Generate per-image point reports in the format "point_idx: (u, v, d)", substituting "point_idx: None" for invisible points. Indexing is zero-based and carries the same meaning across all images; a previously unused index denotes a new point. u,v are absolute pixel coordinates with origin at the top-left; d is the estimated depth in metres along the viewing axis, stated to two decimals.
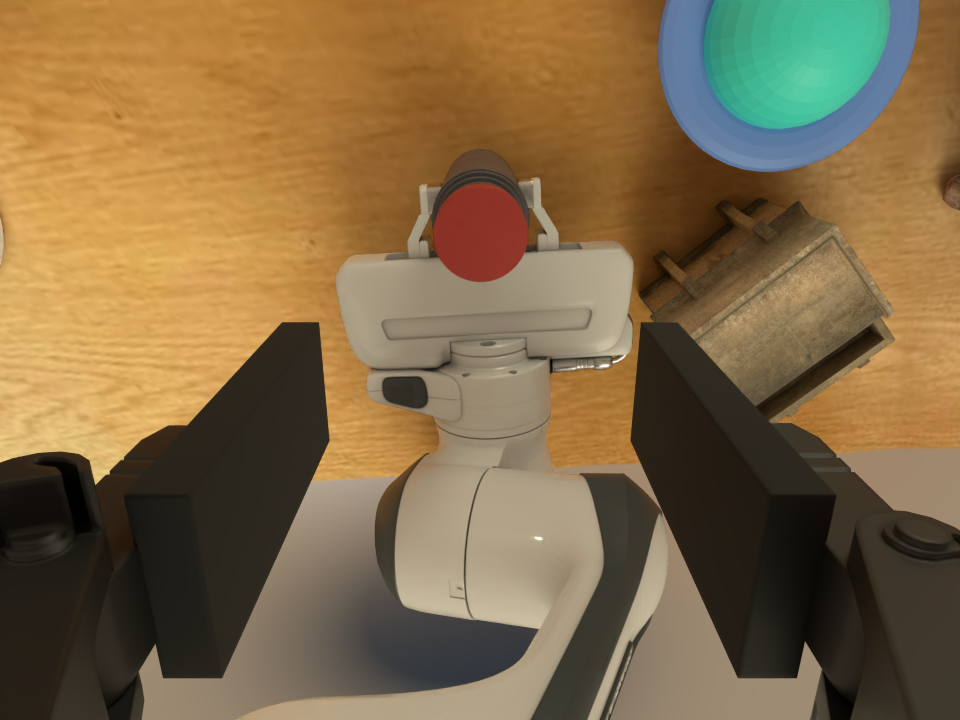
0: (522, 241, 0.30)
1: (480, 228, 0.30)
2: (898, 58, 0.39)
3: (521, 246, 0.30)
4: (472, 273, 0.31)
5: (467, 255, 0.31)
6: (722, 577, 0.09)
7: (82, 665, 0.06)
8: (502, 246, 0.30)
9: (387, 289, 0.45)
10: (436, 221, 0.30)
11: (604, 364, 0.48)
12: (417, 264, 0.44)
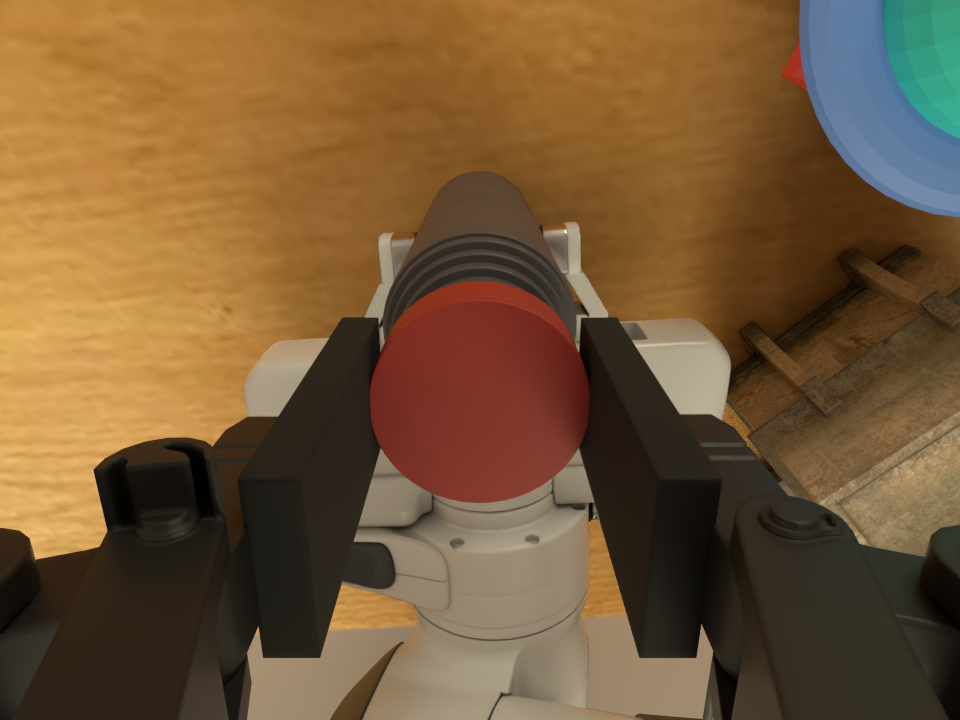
0: (577, 419, 0.13)
1: (479, 391, 0.13)
2: None
3: (574, 430, 0.13)
4: (461, 485, 0.14)
5: (448, 448, 0.13)
6: (630, 561, 0.09)
7: (205, 647, 0.06)
8: (530, 430, 0.13)
9: None
10: (375, 377, 0.13)
11: None
12: None
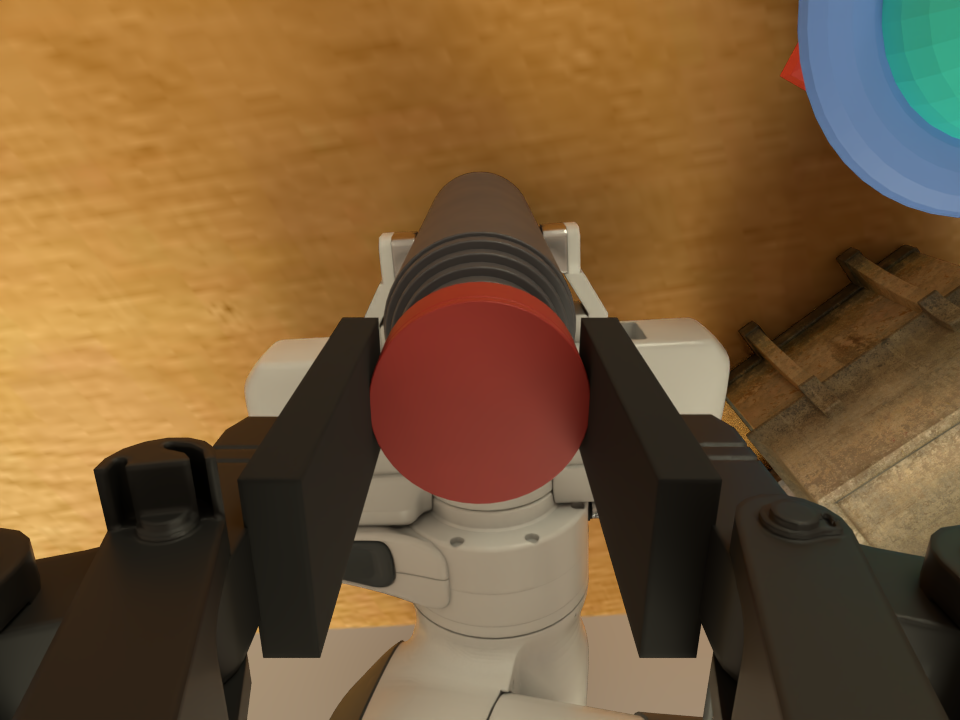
0: (453, 316, 0.12)
1: (464, 414, 0.13)
2: None
3: (465, 314, 0.12)
4: (571, 393, 0.13)
5: (533, 419, 0.13)
6: (630, 561, 0.09)
7: (205, 646, 0.06)
8: (483, 355, 0.13)
9: None
10: (487, 501, 0.14)
11: None
12: None
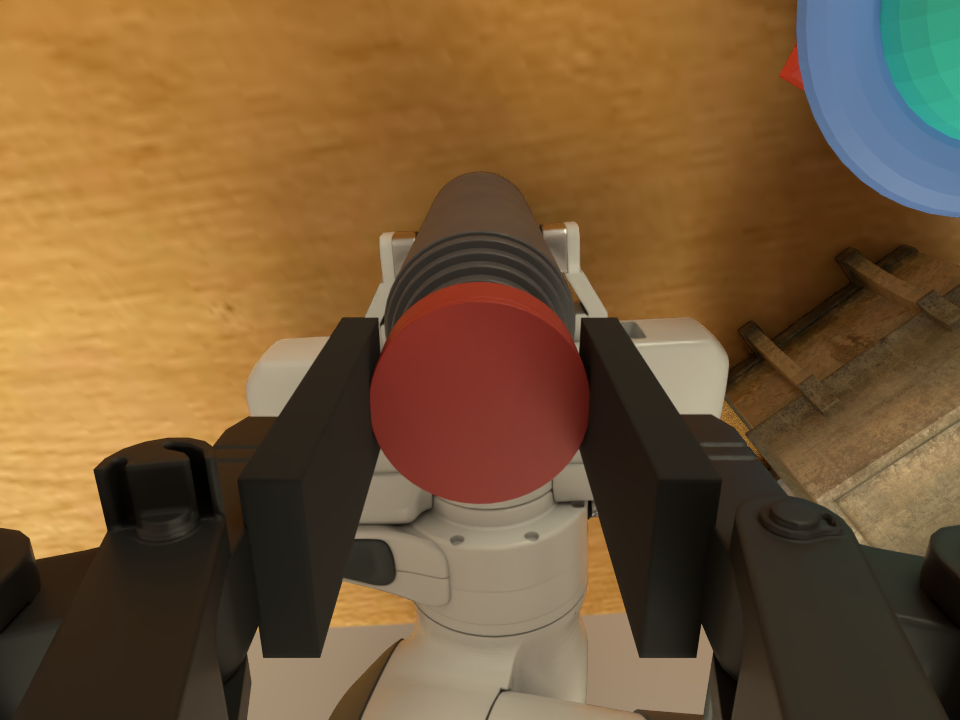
0: (403, 461, 0.13)
1: (492, 419, 0.13)
2: None
3: (396, 453, 0.13)
4: (428, 335, 0.12)
5: (469, 357, 0.13)
6: (630, 562, 0.09)
7: (205, 647, 0.06)
8: (426, 425, 0.13)
9: None
10: (578, 363, 0.13)
11: None
12: None
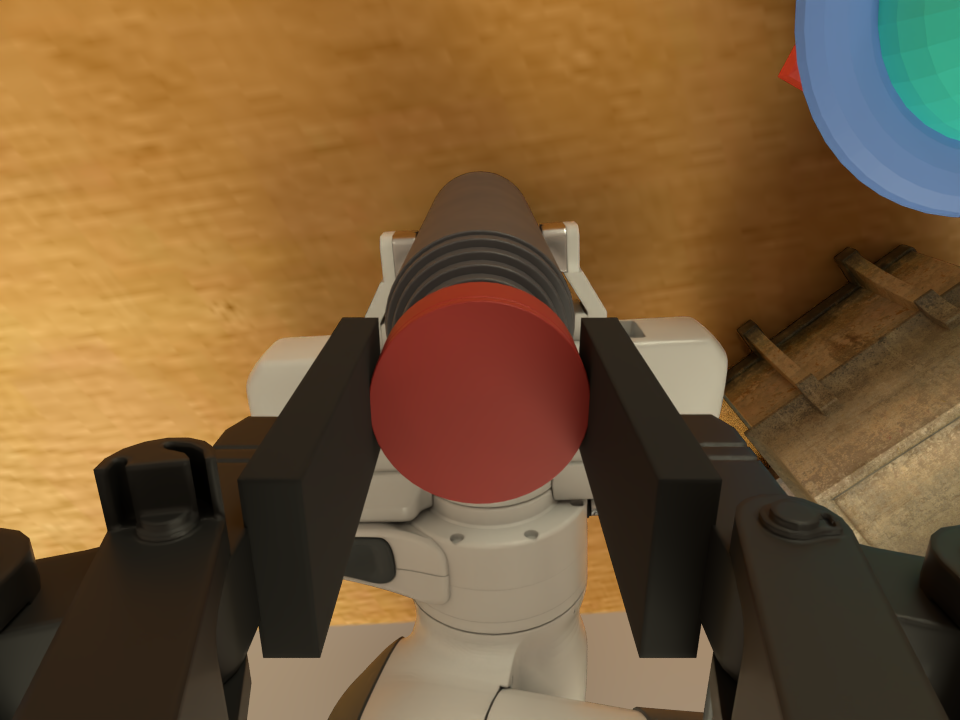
0: (563, 453, 0.13)
1: (486, 393, 0.13)
2: None
3: (556, 462, 0.13)
4: (429, 474, 0.13)
5: (433, 435, 0.13)
6: (630, 561, 0.09)
7: (205, 647, 0.06)
8: (516, 447, 0.13)
9: None
10: (394, 342, 0.12)
11: None
12: None
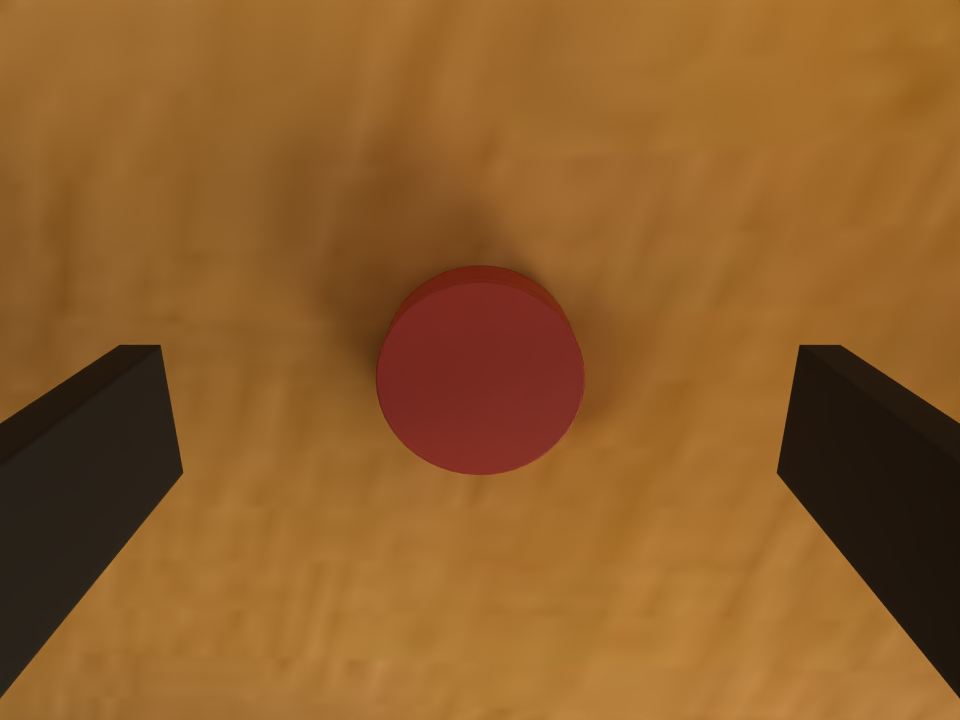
0: (558, 426, 0.14)
1: (486, 370, 0.14)
2: None
3: (552, 435, 0.14)
4: (432, 446, 0.14)
5: (437, 409, 0.14)
6: None
7: None
8: (515, 420, 0.14)
9: None
10: (400, 321, 0.13)
11: None
12: None
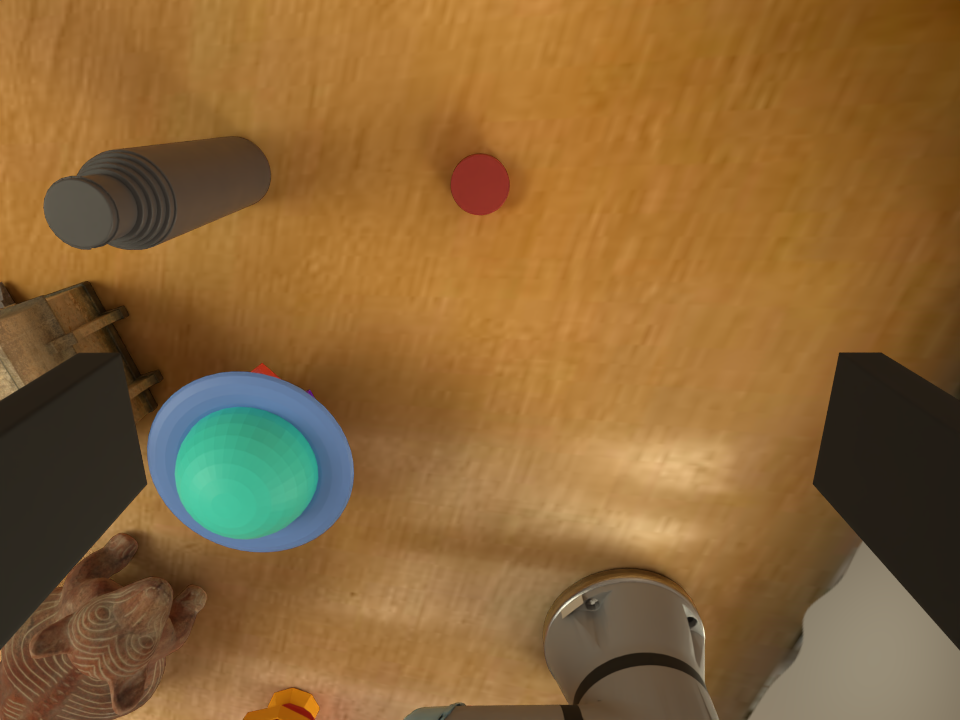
0: (502, 198, 0.49)
1: (481, 181, 0.49)
2: (211, 534, 0.50)
3: (500, 201, 0.49)
4: (466, 205, 0.50)
5: (467, 193, 0.49)
6: None
7: None
8: (490, 197, 0.49)
9: None
10: (458, 166, 0.49)
11: None
12: None
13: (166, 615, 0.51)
